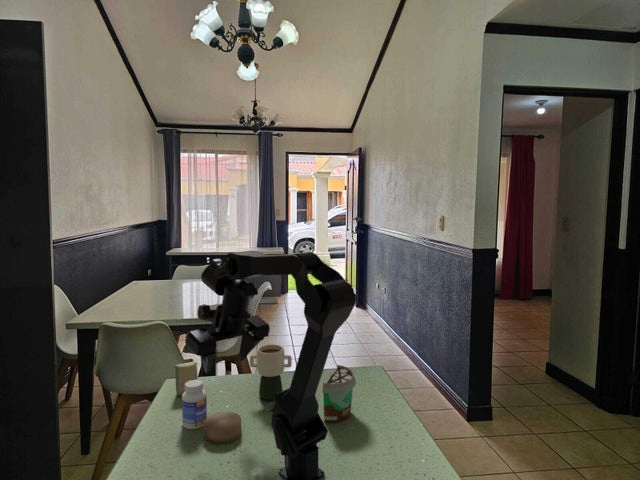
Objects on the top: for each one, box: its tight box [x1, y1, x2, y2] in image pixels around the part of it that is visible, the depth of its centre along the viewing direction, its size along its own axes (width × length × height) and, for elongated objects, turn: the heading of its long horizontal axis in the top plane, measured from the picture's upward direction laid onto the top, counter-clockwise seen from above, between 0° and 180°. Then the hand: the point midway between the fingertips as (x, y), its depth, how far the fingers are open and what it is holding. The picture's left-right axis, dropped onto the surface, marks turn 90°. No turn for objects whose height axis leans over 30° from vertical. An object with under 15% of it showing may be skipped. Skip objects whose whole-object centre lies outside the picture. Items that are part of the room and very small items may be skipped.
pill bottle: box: [181, 379, 208, 430], centre depth 96 cm, size 5×5×10 cm
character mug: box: [249, 343, 293, 401], centre depth 110 cm, size 11×7×13 cm, turn 90°
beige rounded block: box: [175, 361, 198, 397], centre depth 112 cm, size 6×5×8 cm
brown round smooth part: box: [203, 411, 242, 445], centre depth 93 cm, size 8×8×3 cm
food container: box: [322, 364, 357, 424], centre depth 101 cm, size 12×6×10 cm, turn 161°
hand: (224, 365), depth 95 cm, fingers open, 9 cm apart
